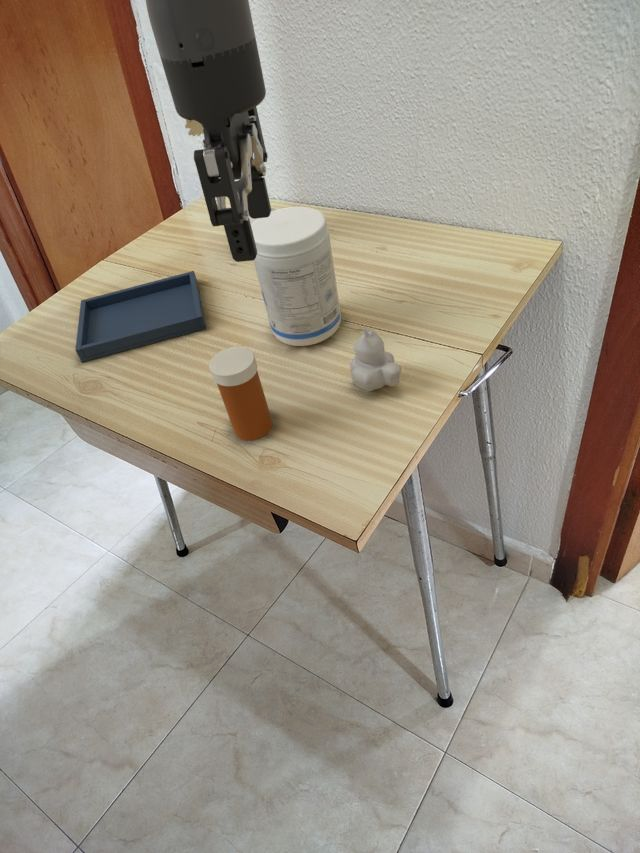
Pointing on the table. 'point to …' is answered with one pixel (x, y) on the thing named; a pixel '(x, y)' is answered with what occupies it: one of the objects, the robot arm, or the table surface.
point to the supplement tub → (297, 275)
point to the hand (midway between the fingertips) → (253, 236)
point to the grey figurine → (373, 363)
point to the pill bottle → (241, 392)
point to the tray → (139, 316)
